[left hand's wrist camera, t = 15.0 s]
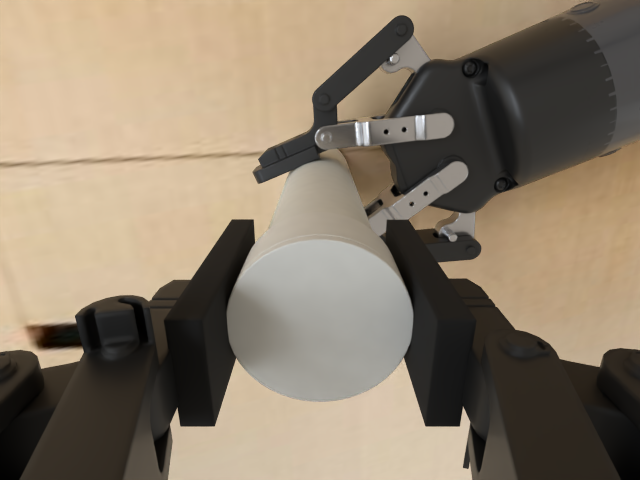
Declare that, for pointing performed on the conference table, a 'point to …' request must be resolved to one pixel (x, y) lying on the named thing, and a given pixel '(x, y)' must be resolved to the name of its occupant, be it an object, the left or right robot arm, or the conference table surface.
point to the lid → (319, 309)
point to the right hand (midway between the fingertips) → (276, 211)
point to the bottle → (321, 190)
